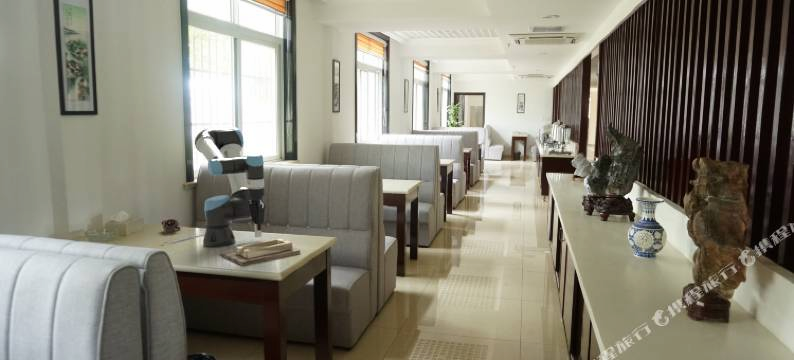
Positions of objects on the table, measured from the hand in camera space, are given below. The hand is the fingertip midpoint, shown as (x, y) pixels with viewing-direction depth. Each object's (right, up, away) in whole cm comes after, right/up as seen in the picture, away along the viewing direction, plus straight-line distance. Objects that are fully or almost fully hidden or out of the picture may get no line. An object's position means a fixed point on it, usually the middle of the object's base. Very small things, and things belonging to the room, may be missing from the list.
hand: (258, 236), depth 261 cm
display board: (+3, -7, -10) cm, 13 cm away
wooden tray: (+6, -5, -12) cm, 14 cm away
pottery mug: (-58, -2, +40) cm, 70 cm away
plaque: (-44, -4, +25) cm, 51 cm away
